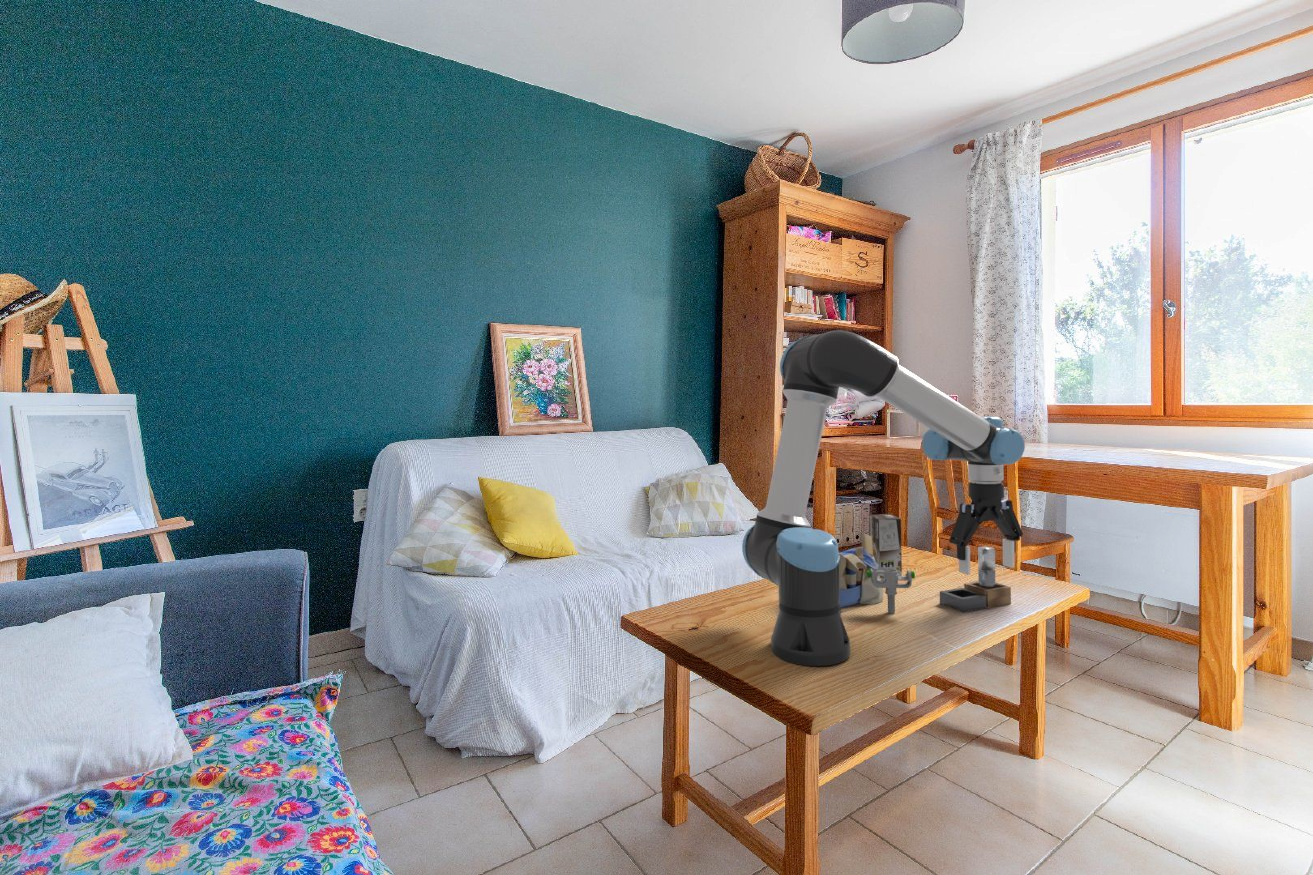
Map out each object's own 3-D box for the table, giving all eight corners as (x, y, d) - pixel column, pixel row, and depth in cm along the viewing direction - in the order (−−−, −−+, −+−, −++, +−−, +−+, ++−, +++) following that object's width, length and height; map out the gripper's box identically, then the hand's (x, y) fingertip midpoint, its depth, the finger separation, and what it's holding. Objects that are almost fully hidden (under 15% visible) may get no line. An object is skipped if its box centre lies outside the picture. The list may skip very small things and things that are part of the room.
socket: (962, 612, 145) (962, 599, 144) (939, 603, 151) (939, 591, 151) (986, 608, 147) (986, 595, 147) (962, 599, 153) (962, 587, 153)
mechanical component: (916, 615, 144) (915, 572, 143) (869, 614, 146) (868, 571, 145) (913, 611, 146) (912, 568, 146) (867, 610, 148) (866, 568, 148)
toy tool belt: (825, 624, 141) (823, 553, 140) (774, 606, 155) (772, 541, 154) (899, 601, 155) (898, 536, 154) (846, 586, 169) (845, 527, 168)
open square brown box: (988, 607, 147) (987, 590, 147) (964, 599, 154) (964, 583, 153) (1010, 603, 149) (1010, 587, 149) (986, 595, 156) (986, 579, 156)
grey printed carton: (903, 576, 176) (901, 518, 175) (879, 576, 176) (878, 519, 175) (892, 567, 185) (891, 513, 184) (870, 568, 185) (869, 513, 184)
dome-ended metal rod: (987, 604, 149) (986, 550, 148) (975, 600, 152) (974, 547, 152) (999, 602, 150) (998, 548, 150) (986, 598, 154) (986, 545, 153)
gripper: (956, 487, 142) (957, 580, 143) (1039, 479, 150) (1040, 567, 151) (932, 483, 150) (933, 572, 151) (1012, 476, 158) (1013, 560, 159)
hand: (986, 569), depth 151 cm, fingers open, 13 cm apart
